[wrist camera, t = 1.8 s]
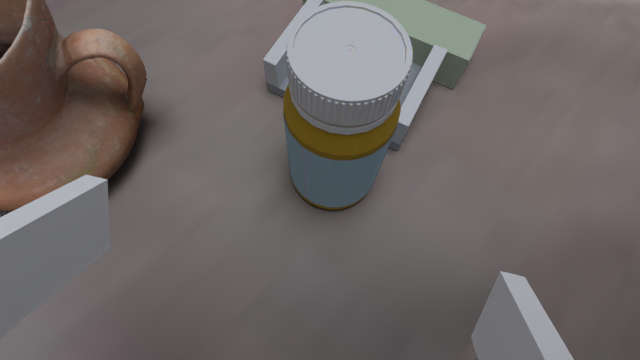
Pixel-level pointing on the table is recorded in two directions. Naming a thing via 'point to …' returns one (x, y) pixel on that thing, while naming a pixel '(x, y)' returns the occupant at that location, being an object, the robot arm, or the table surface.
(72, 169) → the ceramic jug
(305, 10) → the green-backed grey tray
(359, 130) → the bottle
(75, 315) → the table surface
